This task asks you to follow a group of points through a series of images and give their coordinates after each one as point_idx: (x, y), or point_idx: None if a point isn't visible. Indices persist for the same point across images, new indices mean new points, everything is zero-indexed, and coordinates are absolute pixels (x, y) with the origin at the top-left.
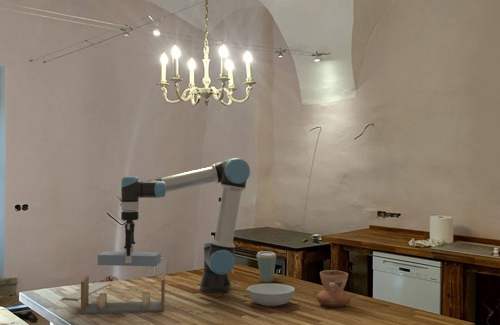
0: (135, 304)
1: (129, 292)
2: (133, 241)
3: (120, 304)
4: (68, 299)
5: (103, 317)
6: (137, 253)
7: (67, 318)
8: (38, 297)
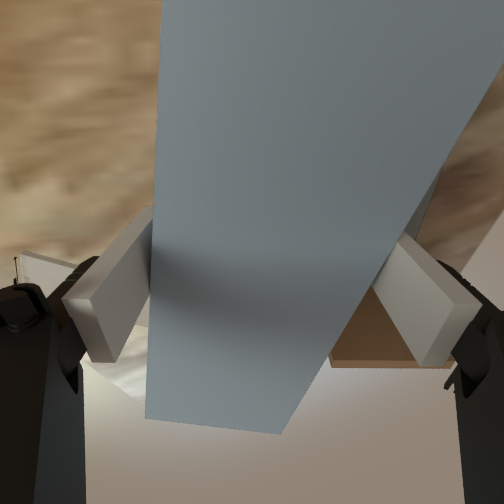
0: None
1: (126, 166)
2: (29, 342)
3: None
4: None
5: (460, 225)
6: (258, 186)
7: None
8: None
